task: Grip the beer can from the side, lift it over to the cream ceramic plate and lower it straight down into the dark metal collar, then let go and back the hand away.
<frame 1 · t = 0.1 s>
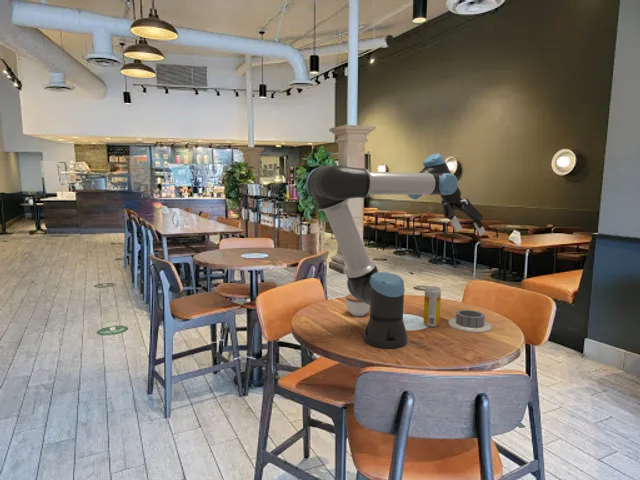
hand: (470, 231, 175), 36 cm above the table, tool tilted 35°, fingers open, 13 cm apart
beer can: (431, 325, 167), on the table
collar stand: (469, 325, 166), on the table
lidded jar: (358, 314, 180), on the table
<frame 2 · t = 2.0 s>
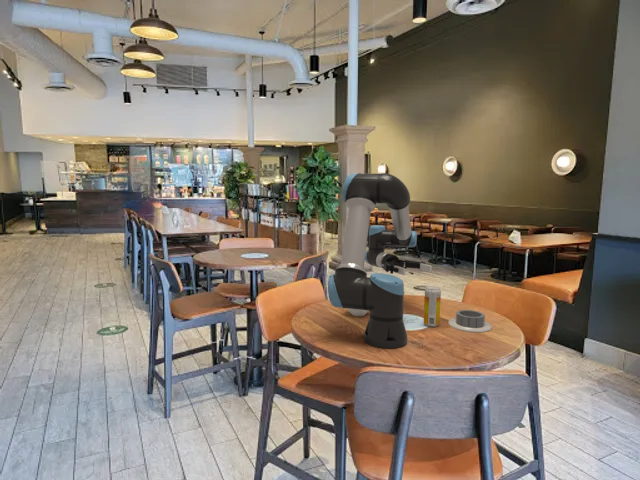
hand: (417, 270, 173), 20 cm above the table, tool horizontal, fingers open, 13 cm apart
nothing on the table moved.
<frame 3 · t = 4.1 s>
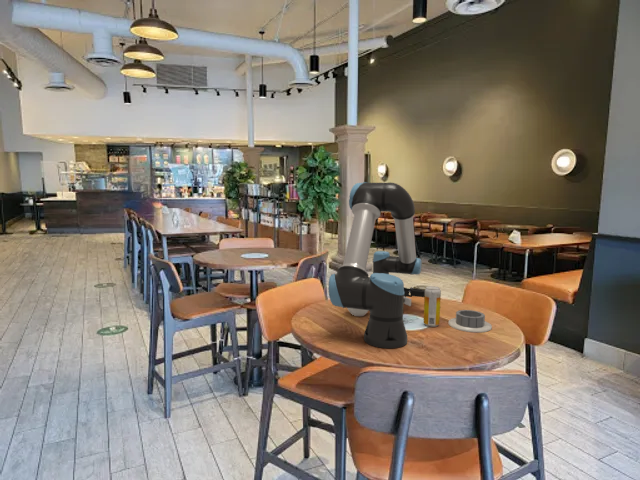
hand: (424, 300, 171), 8 cm above the table, tool horizontal, fingers open, 13 cm apart
nothing on the table moved.
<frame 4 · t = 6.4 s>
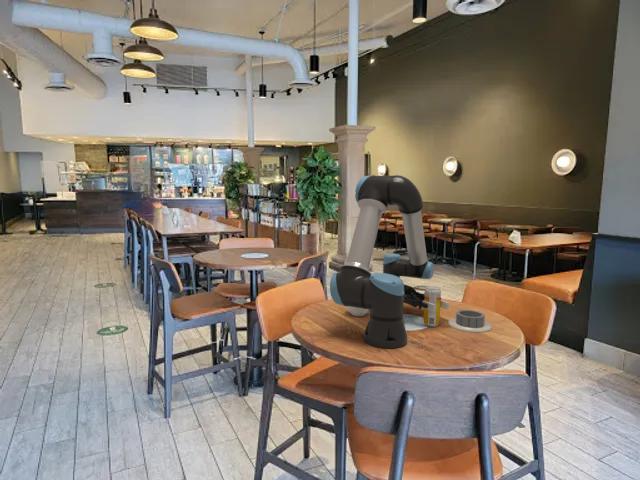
hand: (441, 307, 161), 9 cm above the table, tool horizontal, fingers closed on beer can, 6 cm apart
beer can: (431, 325, 167), on the table, touching gripper
everything else where it was.
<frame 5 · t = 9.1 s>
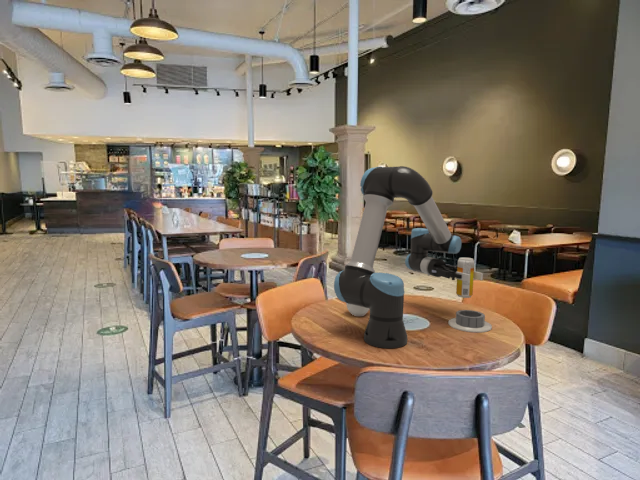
hand: (475, 277, 160), 20 cm above the table, tool horizontal, fingers closed on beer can, 6 cm apart
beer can: (464, 296, 166), point 11 cm above the table, touching gripper
everything else where it was.
when the fingers open (11 cm above the table, at t = 11.9 s): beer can drops 1 cm, resting on collar stand.
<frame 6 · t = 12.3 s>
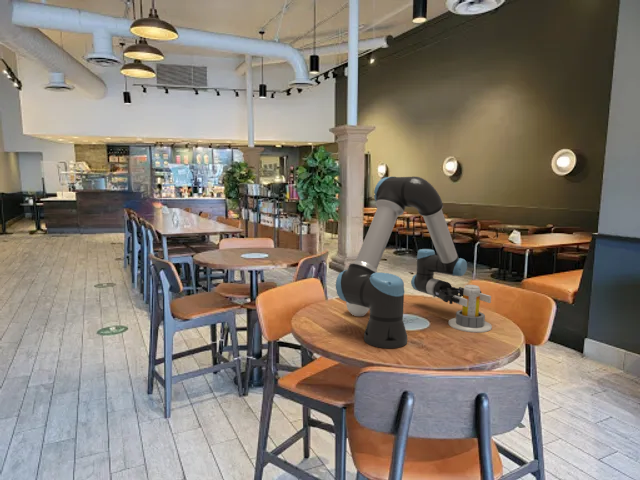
hand: (478, 301, 162), 11 cm above the table, tool horizontal, fingers open, 11 cm apart
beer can: (469, 323, 166), point 1 cm above the table, touching collar stand
everything else where it was.
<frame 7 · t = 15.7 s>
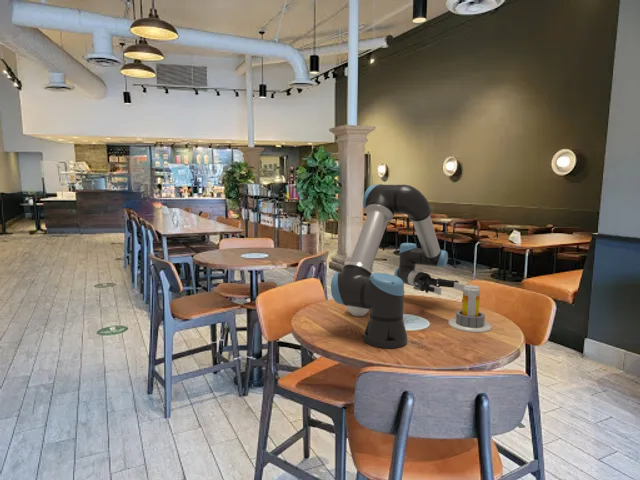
hand: (453, 290, 174), 12 cm above the table, tool horizontal, fingers open, 13 cm apart
nothing on the table moved.
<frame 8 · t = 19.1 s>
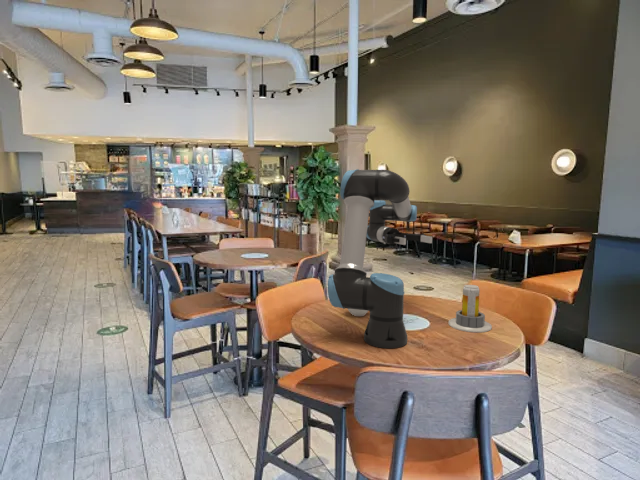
hand: (418, 240, 174), 32 cm above the table, tool horizontal, fingers open, 13 cm apart
nothing on the table moved.
at the end: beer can 0.1 cm off-centre on the collar stand, point 0.6 cm above the collar stand's base; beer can tilted 0°; the gripper is holding nothing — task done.
